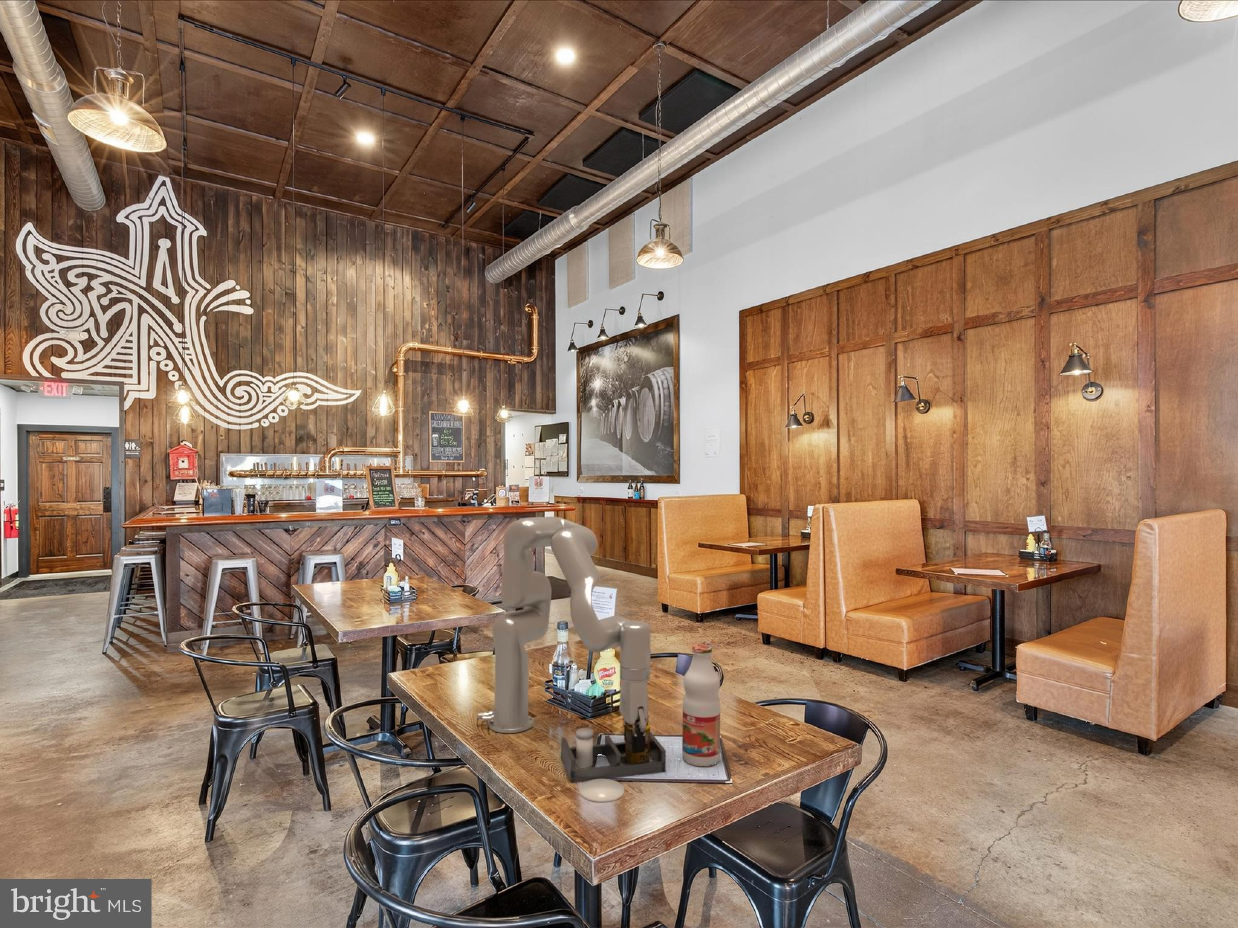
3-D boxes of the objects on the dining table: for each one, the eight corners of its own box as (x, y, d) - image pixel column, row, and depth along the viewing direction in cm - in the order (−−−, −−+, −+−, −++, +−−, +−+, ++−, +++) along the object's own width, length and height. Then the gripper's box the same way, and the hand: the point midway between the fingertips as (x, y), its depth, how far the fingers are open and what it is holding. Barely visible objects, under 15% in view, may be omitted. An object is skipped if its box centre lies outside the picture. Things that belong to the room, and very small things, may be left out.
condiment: (654, 767, 152) (655, 717, 152) (620, 770, 150) (621, 720, 150) (646, 754, 159) (646, 706, 159) (613, 757, 157) (614, 709, 158)
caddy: (570, 782, 144) (571, 760, 144) (561, 758, 156) (561, 738, 156) (665, 771, 150) (665, 750, 150) (648, 749, 162) (649, 729, 162)
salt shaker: (577, 768, 151) (578, 735, 151) (574, 761, 155) (574, 728, 155) (594, 767, 152) (595, 733, 152) (590, 759, 156) (591, 727, 156)
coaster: (584, 804, 134) (584, 802, 134) (575, 782, 144) (575, 781, 144) (629, 799, 136) (629, 797, 136) (617, 778, 146) (617, 776, 146)
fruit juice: (727, 759, 157) (728, 647, 158) (703, 771, 150) (704, 653, 151) (698, 747, 164) (699, 639, 165) (674, 758, 157) (675, 645, 158)
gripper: (611, 663, 162) (610, 734, 162) (630, 684, 146) (629, 762, 145) (639, 661, 164) (638, 731, 164) (660, 682, 148) (660, 759, 147)
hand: (634, 745), depth 154 cm, fingers closed on condiment, 6 cm apart
